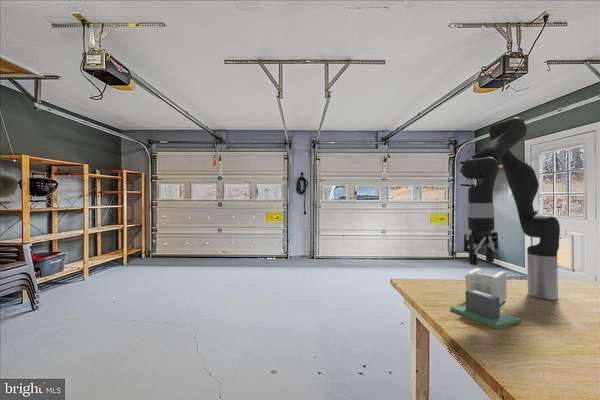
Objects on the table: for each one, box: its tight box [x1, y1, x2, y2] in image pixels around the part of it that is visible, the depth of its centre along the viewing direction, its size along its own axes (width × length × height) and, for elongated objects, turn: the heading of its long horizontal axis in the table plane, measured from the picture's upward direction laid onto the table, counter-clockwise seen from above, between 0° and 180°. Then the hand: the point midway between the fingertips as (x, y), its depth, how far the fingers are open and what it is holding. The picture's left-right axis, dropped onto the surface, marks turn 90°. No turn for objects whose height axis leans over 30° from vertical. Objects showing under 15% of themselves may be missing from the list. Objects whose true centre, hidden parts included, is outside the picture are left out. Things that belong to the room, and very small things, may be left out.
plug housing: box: [464, 289, 501, 319], centre depth 93 cm, size 4×9×7 cm, turn 22°
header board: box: [450, 303, 522, 330], centre depth 93 cm, size 12×16×5 cm
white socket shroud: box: [464, 267, 508, 306], centre depth 107 cm, size 15×11×12 cm
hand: (481, 263), depth 93 cm, fingers open, 8 cm apart
